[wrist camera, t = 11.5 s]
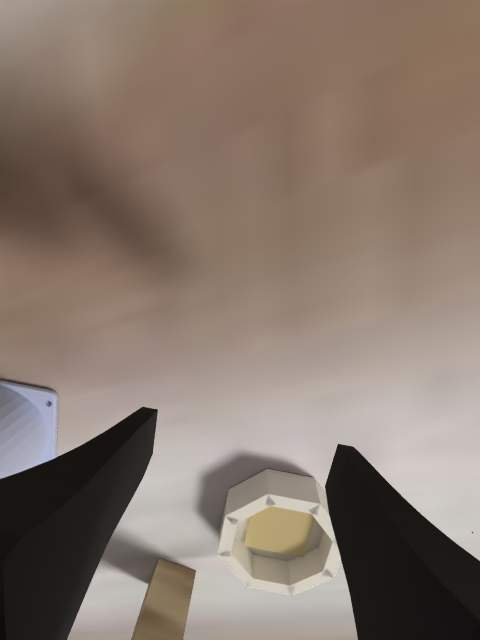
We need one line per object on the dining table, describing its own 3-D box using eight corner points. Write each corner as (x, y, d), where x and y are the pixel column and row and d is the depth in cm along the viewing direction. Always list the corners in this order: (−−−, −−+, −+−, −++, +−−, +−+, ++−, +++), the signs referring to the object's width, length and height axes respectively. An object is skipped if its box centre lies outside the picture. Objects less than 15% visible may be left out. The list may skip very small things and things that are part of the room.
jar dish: (319, 569, 27) (325, 602, 24) (216, 549, 27) (212, 579, 25) (347, 484, 24) (357, 511, 22) (233, 462, 25) (231, 486, 22)
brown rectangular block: (184, 596, 29) (156, 728, 21) (148, 584, 29) (107, 712, 21) (196, 570, 28) (172, 698, 20) (159, 558, 28) (120, 681, 20)
